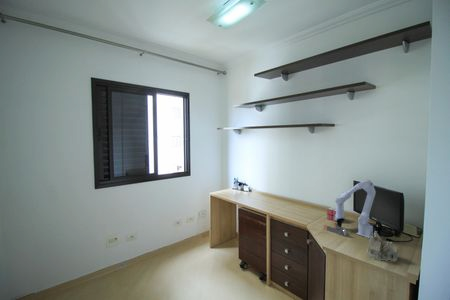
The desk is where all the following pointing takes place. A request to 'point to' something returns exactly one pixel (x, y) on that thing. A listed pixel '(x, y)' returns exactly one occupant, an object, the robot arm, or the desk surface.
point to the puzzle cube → (331, 213)
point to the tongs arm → (338, 227)
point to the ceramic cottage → (381, 249)
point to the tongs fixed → (335, 230)
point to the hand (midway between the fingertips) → (339, 226)
